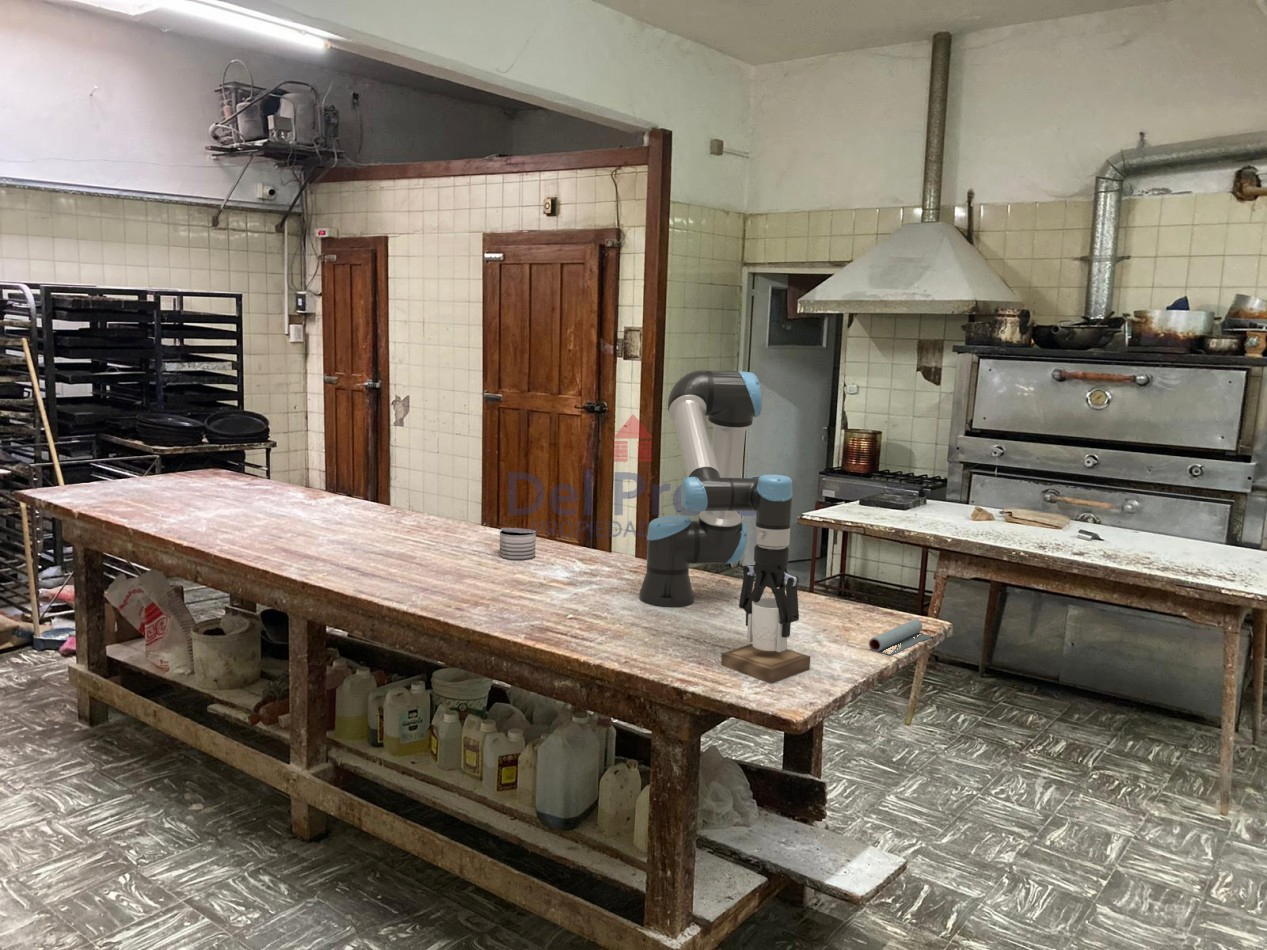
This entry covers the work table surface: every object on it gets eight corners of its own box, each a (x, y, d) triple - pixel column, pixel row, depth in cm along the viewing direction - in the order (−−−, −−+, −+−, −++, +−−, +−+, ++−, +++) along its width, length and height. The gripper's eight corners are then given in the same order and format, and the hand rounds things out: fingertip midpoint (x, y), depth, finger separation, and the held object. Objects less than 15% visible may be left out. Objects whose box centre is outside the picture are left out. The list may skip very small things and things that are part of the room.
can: (492, 564, 299) (492, 527, 297) (521, 560, 307) (521, 523, 305) (513, 571, 291) (513, 533, 289) (542, 566, 298) (543, 529, 297)
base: (721, 666, 211) (721, 652, 211) (760, 653, 221) (760, 640, 220) (771, 683, 201) (771, 669, 201) (809, 669, 211) (810, 655, 210)
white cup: (745, 649, 209) (748, 605, 207) (754, 638, 216) (756, 596, 214) (781, 654, 206) (783, 610, 204) (788, 643, 213) (790, 601, 212)
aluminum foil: (909, 630, 244) (910, 617, 244) (934, 636, 240) (935, 623, 239) (867, 650, 227) (868, 636, 227) (893, 656, 223) (894, 642, 222)
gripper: (725, 539, 212) (720, 637, 215) (799, 556, 197) (793, 661, 201) (746, 535, 217) (741, 631, 220) (820, 551, 203) (814, 654, 206)
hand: (766, 645), depth 210 cm, fingers closed on white cup, 7 cm apart
